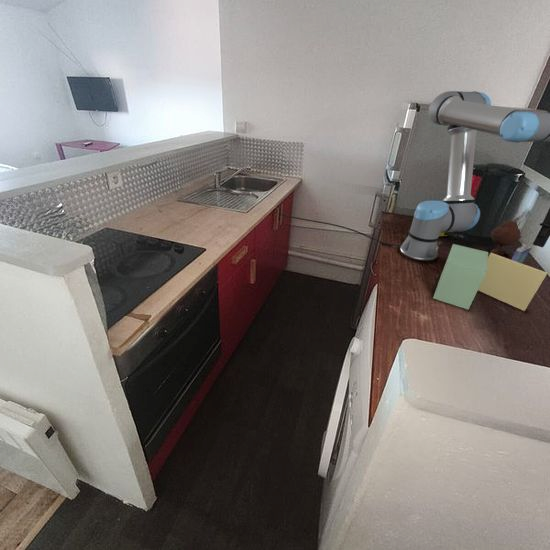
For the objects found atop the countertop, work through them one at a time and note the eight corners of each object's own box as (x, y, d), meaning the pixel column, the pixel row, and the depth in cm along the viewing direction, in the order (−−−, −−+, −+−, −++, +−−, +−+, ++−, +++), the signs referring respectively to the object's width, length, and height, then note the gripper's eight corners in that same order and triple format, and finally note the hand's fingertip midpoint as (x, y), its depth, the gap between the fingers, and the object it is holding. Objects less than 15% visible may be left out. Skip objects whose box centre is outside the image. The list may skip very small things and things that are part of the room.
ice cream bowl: (478, 247, 139) (491, 217, 131) (499, 247, 140) (514, 217, 132) (494, 258, 130) (509, 226, 122) (517, 257, 131) (533, 226, 123)
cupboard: (471, 287, 109) (488, 252, 101) (468, 309, 98) (486, 271, 90) (439, 278, 114) (453, 243, 106) (432, 298, 103) (447, 261, 95)
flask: (511, 271, 120) (523, 248, 115) (504, 268, 122) (515, 245, 117) (522, 266, 124) (534, 243, 119) (514, 263, 127) (526, 240, 121)
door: (481, 283, 112) (497, 248, 104) (530, 304, 101) (553, 267, 93) (473, 288, 109) (490, 253, 101) (524, 311, 98) (546, 273, 90)
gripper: (591, 175, 76) (545, 255, 89) (603, 169, 83) (558, 244, 95) (556, 169, 81) (517, 246, 94) (569, 164, 88) (531, 236, 100)
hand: (538, 245), depth 95 cm, fingers closed
